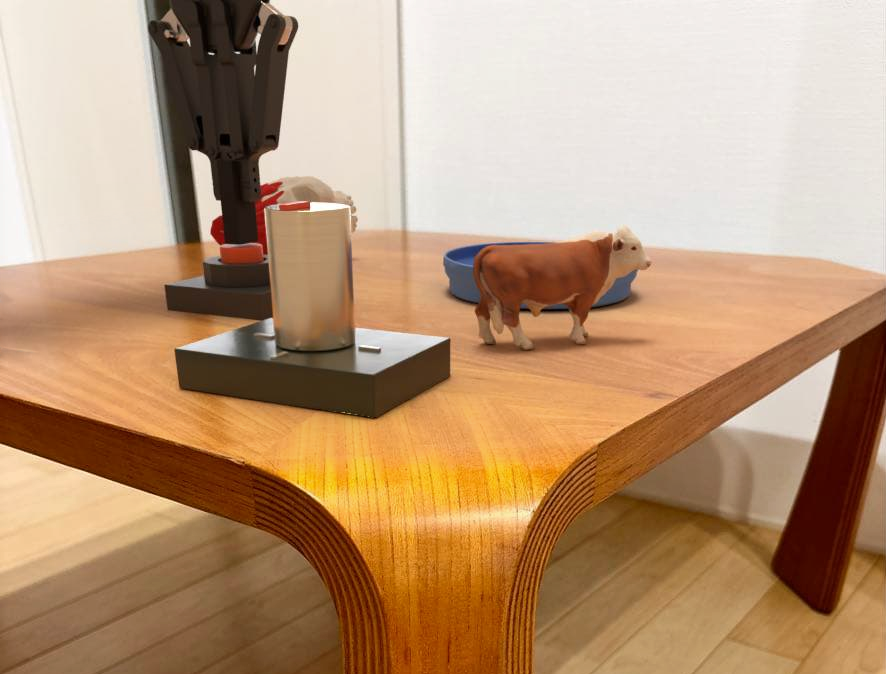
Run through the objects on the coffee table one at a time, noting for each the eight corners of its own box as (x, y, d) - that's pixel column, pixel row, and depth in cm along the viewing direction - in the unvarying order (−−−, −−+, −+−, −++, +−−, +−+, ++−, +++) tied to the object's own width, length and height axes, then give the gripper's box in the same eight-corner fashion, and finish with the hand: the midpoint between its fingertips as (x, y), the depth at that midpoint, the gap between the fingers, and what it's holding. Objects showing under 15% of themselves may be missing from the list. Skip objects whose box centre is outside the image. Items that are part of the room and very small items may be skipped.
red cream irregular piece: (365, 254, 105) (247, 284, 98) (317, 243, 113) (205, 269, 106) (354, 171, 100) (229, 196, 93) (305, 165, 108) (187, 187, 101)
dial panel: (178, 388, 57) (173, 345, 56) (272, 353, 65) (269, 315, 64) (374, 418, 51) (373, 372, 50) (450, 376, 59) (450, 335, 58)
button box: (167, 310, 78) (161, 262, 77) (232, 293, 86) (228, 249, 84) (262, 321, 75) (258, 271, 73) (322, 302, 82) (319, 256, 80)
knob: (304, 330, 60) (295, 196, 56) (370, 337, 58) (365, 199, 54) (258, 346, 56) (246, 202, 52) (328, 355, 54) (320, 206, 50)
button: (212, 267, 78) (210, 246, 77) (238, 262, 81) (236, 241, 80) (247, 270, 77) (245, 249, 76) (272, 264, 79) (270, 244, 79)
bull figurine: (651, 343, 68) (662, 228, 64) (478, 354, 65) (480, 234, 61) (625, 330, 71) (635, 221, 68) (460, 340, 68) (462, 226, 65)
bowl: (407, 288, 88) (406, 250, 87) (553, 272, 97) (555, 237, 96) (519, 321, 75) (520, 276, 73) (677, 299, 83) (681, 259, 82)
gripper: (107, -90, 67) (152, 243, 77) (252, -107, 62) (279, 252, 72) (175, -74, 73) (209, 233, 83) (312, -88, 68) (330, 241, 78)
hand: (241, 242), depth 78 cm, fingers closed
